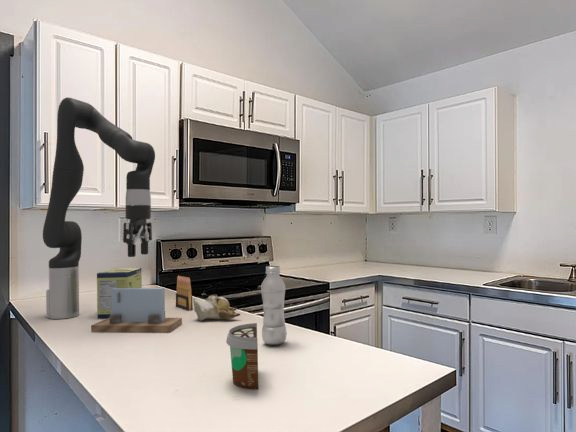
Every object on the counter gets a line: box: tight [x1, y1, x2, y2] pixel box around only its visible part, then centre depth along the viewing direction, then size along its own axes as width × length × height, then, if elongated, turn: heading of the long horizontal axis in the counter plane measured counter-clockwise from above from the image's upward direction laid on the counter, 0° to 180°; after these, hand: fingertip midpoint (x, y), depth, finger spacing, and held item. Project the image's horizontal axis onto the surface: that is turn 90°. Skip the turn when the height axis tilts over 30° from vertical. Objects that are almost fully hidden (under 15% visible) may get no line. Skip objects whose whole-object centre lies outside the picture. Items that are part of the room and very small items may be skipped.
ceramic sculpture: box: [192, 293, 241, 321], centre depth 137 cm, size 11×9×15 cm
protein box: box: [96, 267, 143, 320], centre depth 148 cm, size 10×16×16 cm
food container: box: [226, 322, 259, 390], centre depth 83 cm, size 12×6×10 cm, turn 5°
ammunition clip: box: [175, 275, 194, 312], centre depth 155 cm, size 11×2×12 cm, turn 39°
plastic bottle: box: [260, 265, 288, 346], centre depth 107 cm, size 6×7×20 cm
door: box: [111, 287, 166, 322], centre depth 127 cm, size 16×3×10 cm, turn 84°
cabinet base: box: [90, 314, 183, 334], centre depth 127 cm, size 24×10×4 cm, turn 84°
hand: (138, 255), depth 131 cm, fingers open, 8 cm apart
